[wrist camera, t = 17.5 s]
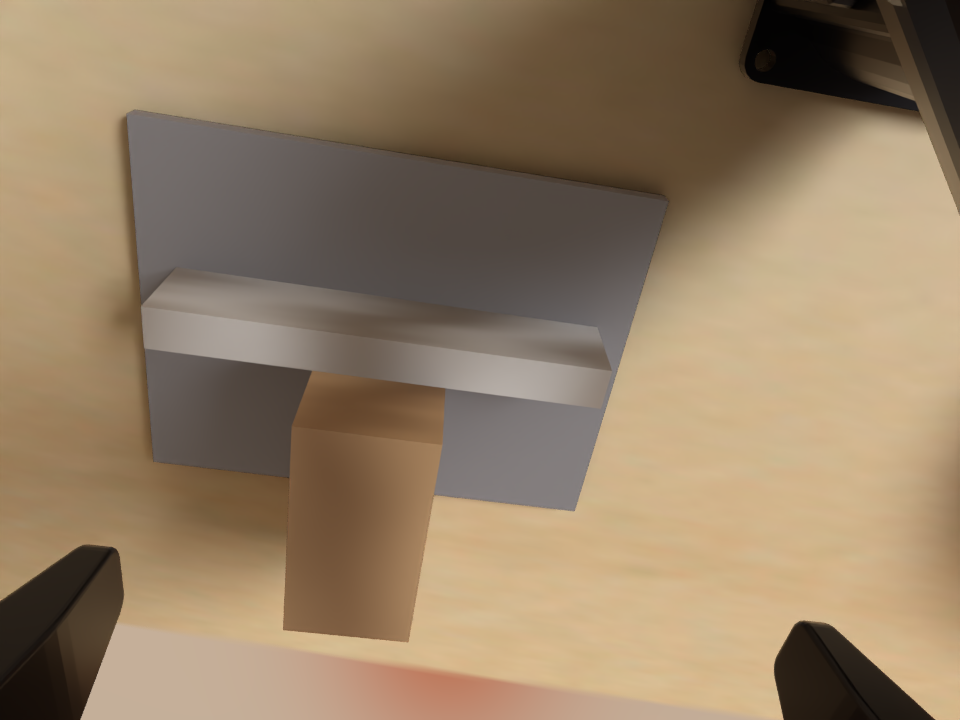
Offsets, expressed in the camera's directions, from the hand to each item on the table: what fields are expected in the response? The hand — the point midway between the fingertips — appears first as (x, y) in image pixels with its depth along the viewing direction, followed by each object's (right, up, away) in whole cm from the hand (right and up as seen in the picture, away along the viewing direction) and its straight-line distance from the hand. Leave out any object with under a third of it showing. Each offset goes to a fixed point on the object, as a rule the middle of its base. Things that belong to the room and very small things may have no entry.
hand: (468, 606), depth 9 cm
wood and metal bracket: (-3, +1, +13) cm, 14 cm away
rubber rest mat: (-3, +4, +12) cm, 13 cm away
